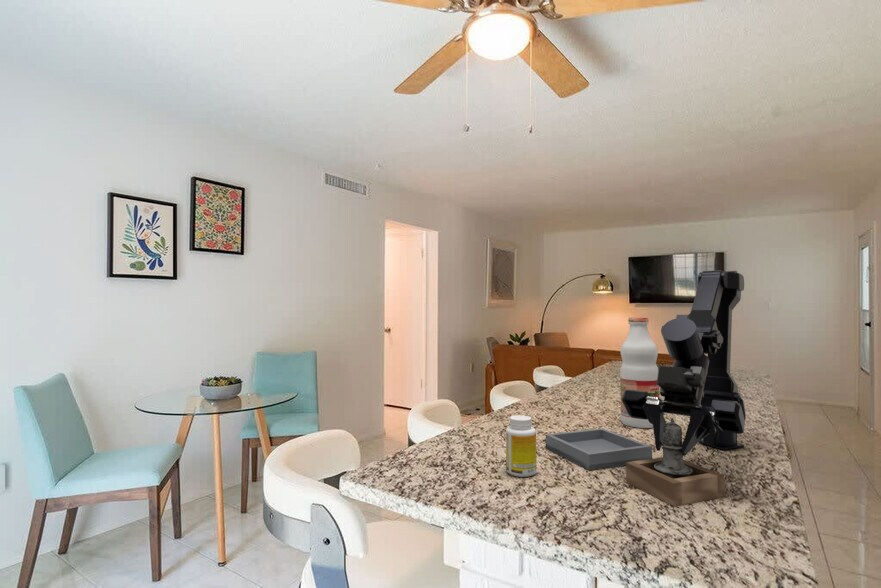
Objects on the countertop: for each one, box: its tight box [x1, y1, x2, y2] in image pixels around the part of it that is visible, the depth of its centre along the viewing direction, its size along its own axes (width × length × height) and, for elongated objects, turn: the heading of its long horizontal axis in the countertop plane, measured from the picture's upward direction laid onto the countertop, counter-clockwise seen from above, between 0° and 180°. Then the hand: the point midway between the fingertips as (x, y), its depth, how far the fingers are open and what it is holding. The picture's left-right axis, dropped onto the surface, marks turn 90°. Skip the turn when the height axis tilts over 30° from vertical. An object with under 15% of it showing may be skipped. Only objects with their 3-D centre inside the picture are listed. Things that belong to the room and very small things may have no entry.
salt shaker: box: [654, 417, 693, 479], centre depth 79 cm, size 6×6×12 cm
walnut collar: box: [625, 456, 726, 507], centre depth 79 cm, size 10×10×4 cm
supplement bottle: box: [505, 414, 537, 478], centre depth 87 cm, size 6×6×10 cm
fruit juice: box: [619, 316, 660, 429], centre depth 123 cm, size 9×9×28 cm
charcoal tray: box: [545, 427, 653, 471], centre depth 98 cm, size 15×15×3 cm
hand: (670, 451), depth 78 cm, fingers closed on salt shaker, 4 cm apart
